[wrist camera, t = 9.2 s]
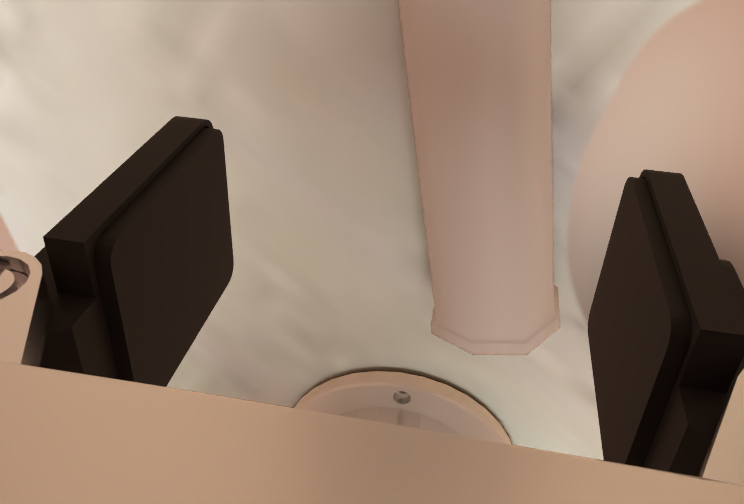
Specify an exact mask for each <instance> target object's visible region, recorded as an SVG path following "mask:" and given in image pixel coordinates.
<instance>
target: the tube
mask: <svg viewBox="0 0 744 504" xmlns="http://www.w3.org/2000/svg"><path fill="white" fill-rule="evenodd" d="M398 3H399V12H400V20H401V29H402V37H403V45H404V54H405V62H406V71H407V79H408V87H409V96H410V104H411V112H412V121H413V129H414V138H415V146H416V154H417V163H418V171H419V180H420V188H421V196H422V205H423V213H424V222H425V230H426V238H427V247H428V255H429V263H430V272H431V280H432V289H433V297H434V310H433V316H432V321H431V331H432V334H433V335H435V336H437V337H439V338H441V339H443V340H445V341H447V342H449V343H451V344H453V345H455V346H457V347H459V348H461V349H463V350H464V351H466V352H468V353H470V354H472V355H527V354H529V353H530V352H531V351H532V350H533V349H535V348H536V347H537V346H538V345H539V344H540V343H542V342H543V341H544V340H545V339H546V338H548V337H549V336H550V335H551V334H552V333H553V332H555V331H556V330H557V329H558V328H559V327H560V315H559V301H558V288H557V287H556V286H554V284H553V193H552V101H551V10H550V0H398Z"/></svg>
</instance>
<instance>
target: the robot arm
mask: <svg viewBox="0 0 744 504" xmlns="http://www.w3.org/2000/svg"><path fill="white" fill-rule="evenodd" d="M43 239H44V243H45V247H44V248H43V249H42V250H41V251H40V252H39V253H38V254H37V255H36V256H35V257H34V256H31V255H29V254H27V253H25V252H20V251H13V250H0V504H744V288H743V286H742V284H741V282H740V280H739V277H738V275H737V273H736V271H735V269H734V267H733V265H732V264H731V262H729V261H726V260H720V259H719V257H718V255H717V253H716V250H715V248H714V246H713V243H712V241H711V239H710V236H709V235H708V232H707V230H706V227H705V225H704V222H703V220H702V218H701V215H700V213H699V211H698V208H697V206H696V204H695V202H694V199H693V197H692V195H691V192H690V190H689V188H688V186H687V183H686V181H685V178H684V176H683V175H682V174H680V173H671V172H663V171H654V170H643V171H642V173H641V175H640V177H639V178H634V177H629V178H628V179H627V181H626V183H625V186H624V190H623V194H622V197H621V200H620V204H619V208H618V211H617V215H616V219H615V222H614V226H613V230H612V233H611V237H610V241H609V244H608V248H607V252H606V255H605V259H604V263H603V266H602V270H601V273H600V277H599V281H598V284H597V288H596V292H595V295H594V299H593V303H592V306H591V310H590V314H589V321H588V337H589V345H590V353H591V361H592V369H593V377H594V385H595V393H596V401H597V409H598V417H599V425H600V433H601V441H602V449H603V457H604V460H598V459H592V458H586V457H580V456H575V455H569V454H563V453H557V452H551V451H546V450H540V449H534V448H528V447H522V446H516V445H512V444H511V441H510V439H509V437H508V436H507V434H506V432H505V431H504V429H503V428H502V426H501V424H500V423H499V422H498V421H497V420H496V419H495V418H494V417H493V416H492V415H491V414H490V413H489V412H488V411H487V410H486V409H485V408H484V407H483V406H481V405H480V404H479V403H477V402H476V401H474V400H473V399H472V398H470V397H469V396H468V395H466V394H464V393H462V392H460V391H458V390H456V389H454V388H452V387H450V386H448V385H446V384H443V383H440V382H437V381H434V380H431V379H428V378H426V377H422V376H417V375H412V374H406V373H401V372H385V371H371V372H361V373H352V374H349V375H345V376H341V377H337V378H334V379H331V380H329V381H327V382H325V383H323V384H321V385H319V386H317V387H315V388H314V389H312V390H311V391H310V392H309V393H307V394H306V395H305V396H303V397H302V398H301V399H300V401H299V402H298V403H297V405H296V406H295V407H294V408H291V407H285V406H279V405H273V404H267V403H261V402H255V401H248V400H242V399H236V398H230V397H224V396H218V395H212V394H205V393H199V392H193V391H187V390H181V389H175V388H169V387H166V386H167V384H168V383H169V381H170V379H171V378H172V376H173V374H174V373H175V371H176V369H177V368H178V366H179V365H180V363H181V361H182V360H183V358H184V356H185V355H186V353H187V351H188V350H189V348H190V346H191V345H192V343H193V341H194V340H195V338H196V336H197V335H198V333H199V331H200V330H201V328H202V326H203V325H204V323H205V321H206V320H207V318H208V316H209V315H210V313H211V311H212V310H213V308H214V307H215V305H216V303H217V302H218V300H219V298H220V297H221V295H222V293H223V292H224V290H225V288H226V287H227V285H228V283H229V281H230V279H231V276H232V272H233V249H232V237H231V225H230V213H229V201H228V189H227V177H226V165H225V153H224V141H223V135H222V132H221V131H220V130H218V129H213V126H212V123H211V122H210V121H209V120H205V119H197V118H188V117H179V116H175V117H174V118H172V119H171V120H170V121H169V122H168V123H167V124H166V125H165V126H163V127H162V128H161V129H160V130H159V131H158V132H157V133H156V134H155V135H154V136H153V137H151V138H150V139H149V140H148V141H147V142H146V143H145V144H144V145H143V146H142V147H141V148H139V149H138V150H137V151H136V152H135V153H134V154H133V155H132V156H131V157H130V158H129V159H127V160H126V161H125V162H124V163H123V164H122V165H121V166H120V167H119V168H118V169H117V170H115V171H114V172H113V173H112V174H111V175H110V176H109V177H108V178H107V179H106V180H105V181H103V182H102V183H101V184H100V185H99V186H98V187H97V188H96V189H95V190H94V191H93V192H91V193H90V194H89V195H88V196H87V197H86V198H85V199H84V200H83V201H82V202H81V203H80V204H78V205H77V206H76V207H75V208H74V209H73V210H72V211H71V212H70V213H69V214H68V215H66V216H65V217H64V218H63V219H62V220H61V221H60V222H59V223H58V224H57V225H56V226H54V227H53V228H52V229H51V230H50V231H49V232H48V233H47V234H46V235H45V236H44V237H43Z"/></svg>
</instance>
